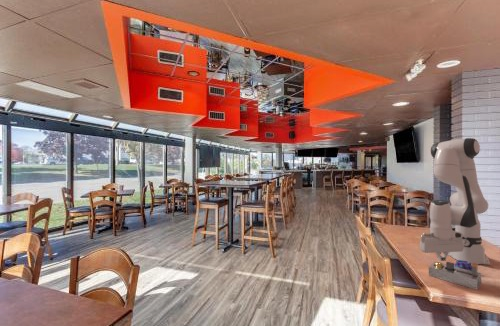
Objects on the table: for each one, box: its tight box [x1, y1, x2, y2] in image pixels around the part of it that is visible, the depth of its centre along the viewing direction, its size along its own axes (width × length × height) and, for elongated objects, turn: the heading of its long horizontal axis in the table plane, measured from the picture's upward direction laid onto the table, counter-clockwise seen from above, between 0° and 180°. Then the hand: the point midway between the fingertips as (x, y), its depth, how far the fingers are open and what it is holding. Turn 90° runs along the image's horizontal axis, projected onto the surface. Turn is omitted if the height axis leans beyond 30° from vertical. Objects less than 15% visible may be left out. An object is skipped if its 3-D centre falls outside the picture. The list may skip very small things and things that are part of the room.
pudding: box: [454, 260, 472, 271], centre depth 127 cm, size 12×12×5 cm
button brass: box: [434, 261, 444, 268], centre depth 123 cm, size 3×3×4 cm
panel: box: [428, 261, 482, 291], centre depth 118 cm, size 10×18×5 cm, turn 39°
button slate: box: [445, 261, 455, 271], centre depth 119 cm, size 3×3×4 cm
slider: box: [471, 263, 479, 276], centre depth 112 cm, size 3×1×5 cm, turn 129°
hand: (441, 260), depth 122 cm, fingers closed
